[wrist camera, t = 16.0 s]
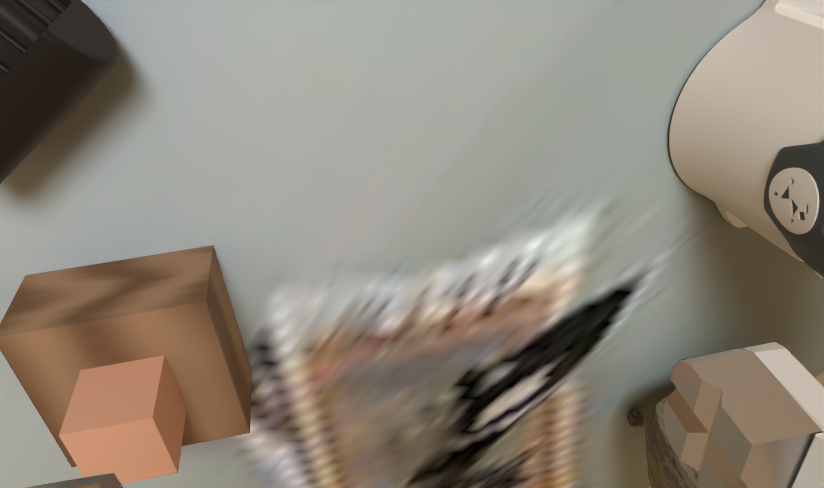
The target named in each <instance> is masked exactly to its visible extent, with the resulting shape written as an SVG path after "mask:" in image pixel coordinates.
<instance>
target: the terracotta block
mask: <svg viewBox="0 0 824 488" xmlns="http://www.w3.org/2000/svg"><path fill="white" fill-rule="evenodd" d="M185 416H186V407H185V404H184V402H183V400H182V397H181V395H180V392H179V390H178V387H177V385H176V383H175V380H174V378H173V375H172V373H171V370H170V368H169V365H168V363H167V361H166V358H165V356H158V357H152V358H147V359H141V360H135V361H130V362H124V363H118V364H113V365H107V366H102V367H96V368H90V369H85V370H81V371H80V374H79V377H78V380H77V383H76V386H75V388H74V391H73V394H72V397H71V400H70V403H69V406H68V409H67V412H66V415H65V418H64V421H63V424H62V427H61V430H60V433H59V437H60V438H61V440H62V442H63V443H64V445H65V447H66V448H67V450H68V452H69V453H70V455H71V457H72V458H73V460H74V462H75V463H76V465H77V467H78V468H79V470H80V472H81V473H82V475H83V477H84V478H85V477H91V476H97V475H103V474H110V473H115V475H116V477H117V478H118V480H119V481H120V483H121V484H124V483H129V482H134V481H140V480H145V479H150V478H155V477H160V476H165V475H170V474H175V473H178V468H179V460H180V453H181V446H182V438H183V431H184V424H185Z"/></svg>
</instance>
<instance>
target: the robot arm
mask: <svg viewBox="0 0 824 488" xmlns="http://www.w3.org/2000/svg"><path fill="white" fill-rule="evenodd" d="M669 146H670V154H671V159H672V162H673V165H674V167H675V170H676V172H677V173H678V175H679V177H680V178H681V179H682V180H683V182H684V183H685V184H686V185H687V186H688V187H690V188H691V189H692V190H694V191H696V192H697V193H699V194H701V195H703V196H705V197H707V198H708V199H710V200H712V201H713V202H714V203H715V204H716V206H717V208H718V210H719V212H720V214H721V215H722V217H723V218H724V219H725V220H726V221H727V222H729V223H730V224H732V225H733V226H735V227H737V228H744V227H750V228H751V229H753V230H754V231H756V232H757V233H759V234H760V235H762V236H763V237H765V238H766V239H767V240H769V241H770V242H772V243H773V244H775V245H776V246H778V247H779V248H781V249H782V250H784V251H785V252H787V253H788V254H790V255H791V256H793V257H795V258H796V259H798V260H800V261H802V262H805V263H806V264H808V265H809V266H810V267H811V268H812V269H813V270H815V272H814V273H815V274H817V275H818V276H819V277H820V278H822V279H823V280H824V0H766V1H765V2H764V3H763V5H762V6H761V8H759V9H758V10H757V11H756V12H755V13H754V14H753V15H752V16H750V17H749V18H748V19H747V20H745V21H744V22H743V23H741V24H740V25H739V26H737V27H736V28H735V29H733V30H732V31H731V32H729V33H728V34H727V35H726V36H725V37H723V38H722V39H721V40H720V41H719V42H718V43H717V44H716V45H715V46H714V47H713V48H712V49H711V50H710V51H709V52H708V53H707V55H706V56H705V57H704V58H703V59H702V60H701V62H700V63H699V64H698V66H697V67H696V68H695V70H694V71H693V73H692V74H691V76H690V77H689V79H688V81H687V82H686V84H685V86H684V88H683V90H682V92H681V94H680V96H679V99H678V101H677V104H676V107H675V109H674V113H673V116H672V121H671V126H670V136H669ZM670 379H671V381H672V382H673V384H674V385H675V386H676V389H675V390H674V391H673V392H672V393H671V394H670V395H669V396H668V397H667V398H666V400H665V406H664V411H663V418H664V424H665V430H666V433H667V436H668V438H669V441H670V443H671V446H672V447H673V449H674V451H675V452H676V454H677V455H678V457H679V459H680V460H681V461H683V462H684V463H686V464H688V465H689V466H691V467H693V468H694V469H696V470H698V478H697V487H698V488H824V387H823V386H822V385H821V384H820V383H819V382H818V381H817V380H816V379H815V378H814V377H813V376H812V375H811V374H810V373H809V372H808V371H807V370H806V369H805V367H804V366H803V365H802V364H801V363H800V362H799V361H798V360H797V359H796V358H795V357H794V356H793V355H792V354H791V353H790V352H789V351H788V350H787V349H786V348H785V347H784V346H782V345H780V344H778V343H776V342H772V343H767V344H762V345H756V346H751V347H746V348H742V349H733V350H728V351H723V352H719V353H714V354H709V355H704V356H699V357H695V358H690V359H685V360H680V361H678V363H677V364H676V365H675V366H674V367H673V370H672V374H671V378H670ZM27 488H123V486H122V485H121V483H120V481H119V480H118V478H117V477H116V475H115V473H110V474H103V475H97V476H91V477H85V478H79V479H73V480H67V481H61V482H56V483H50V484H44V485H38V486H32V487H27Z"/></svg>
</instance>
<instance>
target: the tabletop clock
mask: <svg viewBox="0 0 824 488" xmlns="http://www.w3.org/2000/svg"><path fill="white" fill-rule="evenodd" d="M684 360H685V359H684ZM668 396H669V395H668ZM668 396H667V397H668ZM667 397H665V398H664V399H662V400H661V401H660V402H659V403H657V404H656V405H655V406H654V407H653V408H651V409H650V410H649V411H648V412H647V413H646V414H643V413H641V412H640V411H638V410H636V411H631V412H630V413H629V414H628V417H627V419H628V422H629V424H630V425H631V426H633V427H634V428H638V427H641V426H643V425H645V437H646V450H647V462H648V475H649V480H650V484H651V487H652V488H698V487H697V478H698V470H696V469H694V468H693V467H691V466H689V465H688V464H686V463H684V462H683V461H681V460H680V459H679V457H678V455H677V454H676V452H675V451H674V449H673V447H672V446H671V443H670V441H669V438H668V436H667V433H666V430H665V424H664V418H663V411H664V406H665V400H666V398H667Z"/></svg>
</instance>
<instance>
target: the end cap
mask: <svg viewBox="0 0 824 488" xmlns="http://www.w3.org/2000/svg"><path fill="white" fill-rule="evenodd" d="M117 58H118V50H117V46H116V44H115V41H114V39H113V38H112V36H111V34H110V32H109V31H108V30H107V28H106V27H105V25H104V24H103V23H102V22H101V20H100V19H99V18H98V17H97V16H96V15H95V14H94V13H93V12H92V11H91V10H90V9H89V8H88V6H86V5H85V4H84V3H83V2H82V1H81V0H0V183H1V182H2V181H3V180H4V179H5V178H6V177H7V176H8V175H9V174H10V173H11V172H12V171H13V170H14V169H15V168H16V167H17V166H18V165H19V164H20V162H21V161H22V160H23V159H24V158H25V157H26V156H27V155H28V154H29V153H30V152H31V151H32V150H33V149H34V148H35V147H36V146H37V145H38V144H39V143H40V142H41V141H42V139H43V138H44V137H45V136H46V135H47V134H48V133H49V132H50V131H51V130H52V129H53V128H54V127H55V126H56V125H57V124H58V123H59V122H60V121H61V120H62V119H63V118H64V116H65V115H66V114H67V113H68V112H69V111H70V110H71V109H72V108H73V107H74V106H75V105H76V104H77V103H78V102H79V101H80V100H81V99H82V98H83V97H84V96H85V95H86V93H87V92H88V91H89V90H90V89H91V88H92V87H93V86H94V85H95V84H96V83H97V82H98V81H99V80H100V79H101V78H102V77H103V76H104V75H105V74H106V73H107V72H108V70H109V69H110V68H111V67H112V66H113V65H114V64H115V63H116V62H117Z"/></svg>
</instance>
